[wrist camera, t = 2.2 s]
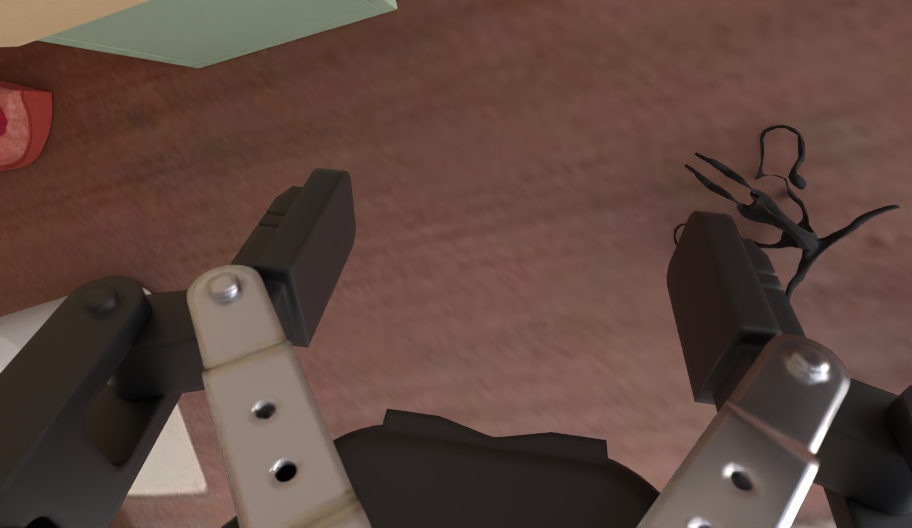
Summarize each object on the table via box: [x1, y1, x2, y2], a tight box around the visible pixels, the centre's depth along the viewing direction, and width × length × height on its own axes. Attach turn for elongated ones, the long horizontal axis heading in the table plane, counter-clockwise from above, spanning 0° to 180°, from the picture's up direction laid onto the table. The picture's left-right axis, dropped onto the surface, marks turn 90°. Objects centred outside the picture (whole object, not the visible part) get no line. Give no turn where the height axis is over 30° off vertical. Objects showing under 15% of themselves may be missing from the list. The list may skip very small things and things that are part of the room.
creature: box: [674, 125, 900, 300], centre depth 25 cm, size 8×5×8 cm
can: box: [0, 288, 151, 373], centre depth 33 cm, size 8×8×12 cm
